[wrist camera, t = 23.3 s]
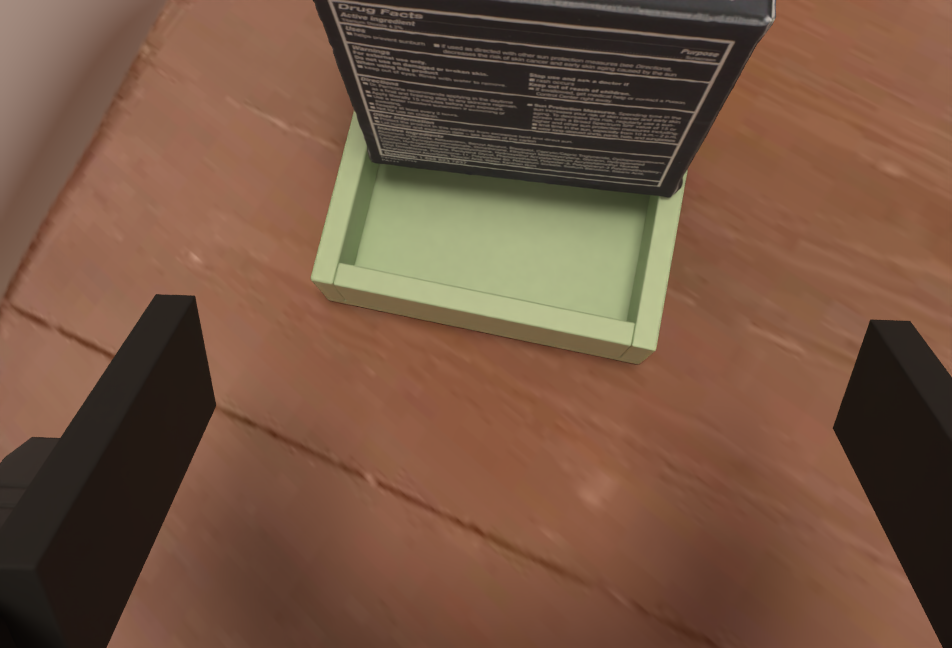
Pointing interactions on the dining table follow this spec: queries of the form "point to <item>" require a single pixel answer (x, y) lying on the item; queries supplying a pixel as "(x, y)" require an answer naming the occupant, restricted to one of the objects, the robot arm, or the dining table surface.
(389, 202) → the tray
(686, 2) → the small box
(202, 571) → the dining table surface
